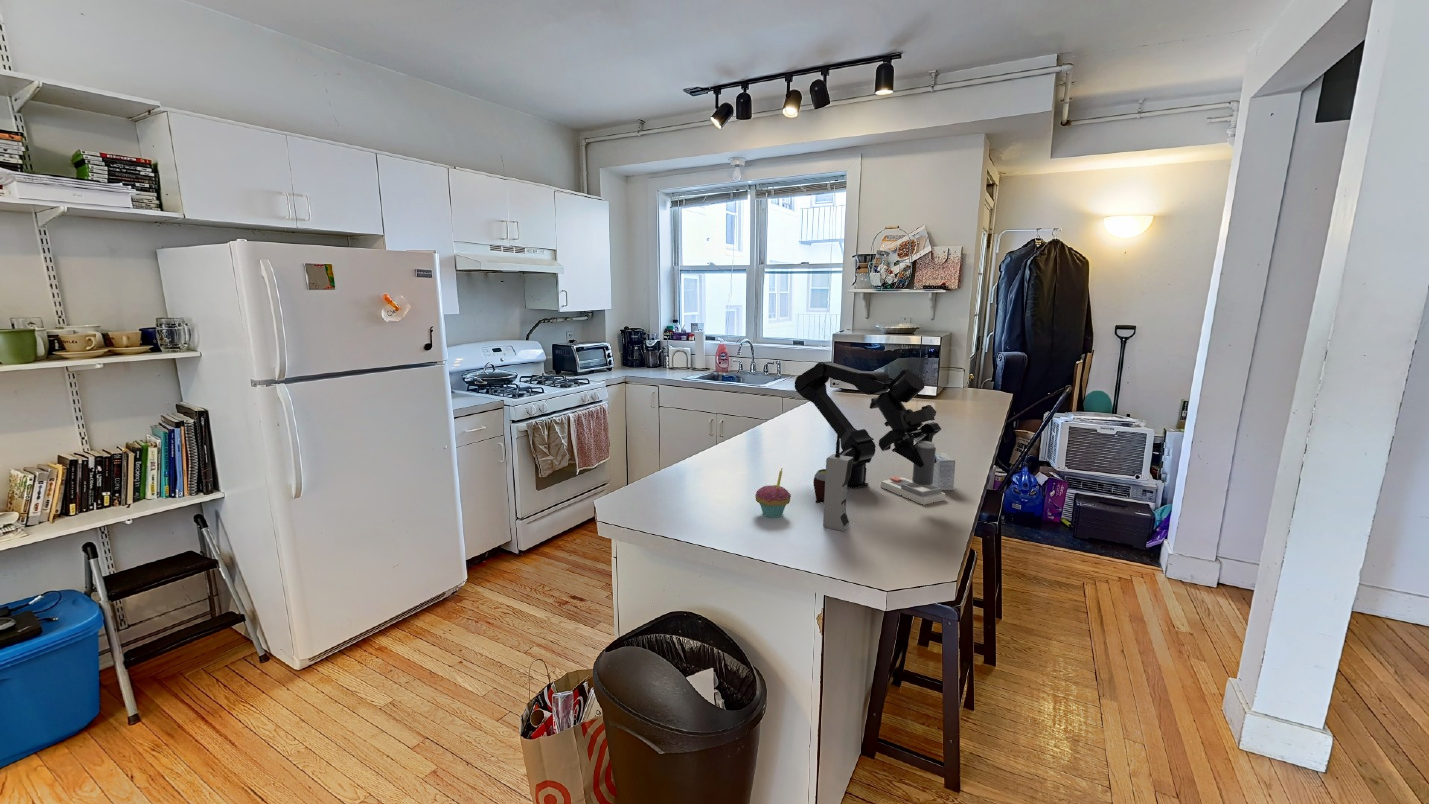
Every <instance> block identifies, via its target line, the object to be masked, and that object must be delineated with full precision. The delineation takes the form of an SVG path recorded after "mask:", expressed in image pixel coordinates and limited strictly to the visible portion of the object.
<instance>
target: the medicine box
mask: <svg viewBox="0 0 1429 804" xmlns="http://www.w3.org/2000/svg"><path fill="white" fill-rule="evenodd" d="M935 457H936V461H937V462H936V463H935V464H934V473H933V483H932V485H934V486H937V487H940V488H942V491H954V487H955V475H956V474H955V473H956V472H955V471H956V460H955V459H953V458H952V457H951V456H949V455H948V454H946V453H945V452H935Z"/></svg>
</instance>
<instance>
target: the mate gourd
mask: <svg viewBox="0 0 1429 804" xmlns="http://www.w3.org/2000/svg"><path fill="white" fill-rule="evenodd" d="M851 449H852V448H851ZM851 449H849V450H847V451H845V452H843V453H842V454H841V455H842V456H843V455H844V454H846V453H847V452H848V451H850V450H851ZM825 476H826V468H822V469H819V470H817V471H816V473H815V474H814V477H813V488H814V494H815V499H816V500H815V501H814V502H815V503H816V504H822V503H823V504H824V496H825Z"/></svg>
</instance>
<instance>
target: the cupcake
mask: <svg viewBox="0 0 1429 804" xmlns="http://www.w3.org/2000/svg"><path fill="white" fill-rule="evenodd" d="M782 476H783V468H781V470H779V472H778V479H777V483H776V484H773V485H770V484H769V485H764V486H762V487H760V488H758V489H757V490H756V492H755V494H754V495H755V501H756V503H759V506H760V508H761V512H762V515H763V516H765V517H767V518H772V519H776V518H781V517H782V516H783V514H784V512H785V508H786V507H787V505H788V504H790V501H791V497H792V494H791V493H790V492H789V491H788V489H786V488H785V487H783V486H780V485H781V480H782Z"/></svg>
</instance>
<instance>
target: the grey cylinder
mask: <svg viewBox="0 0 1429 804" xmlns="http://www.w3.org/2000/svg"><path fill="white" fill-rule="evenodd" d="M915 448H916V450H917V452H918V454H919V456H920V457H921V459H922V461H923V463H924V466H923V467H919V466H917V465H916V464H914V463H913V466H912V467H913V468H912V477H911V478H912V479H911V481H913V482H914V483H916V484H921V485H931V484H932V483H933V473H934V462H935V453H937V452H936V450H937V449H936V446H935V442H933V441H932V442H928V441H918V442H917V445H916V446H915Z"/></svg>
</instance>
